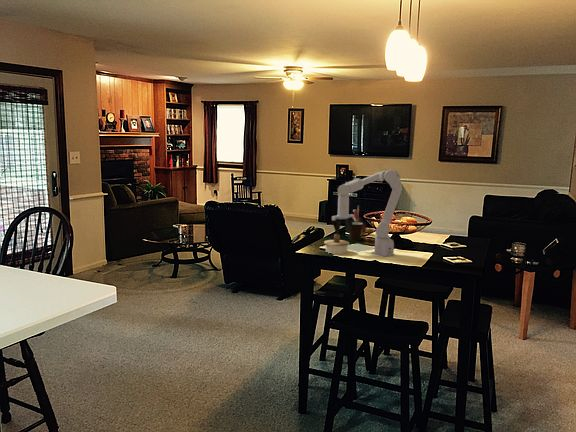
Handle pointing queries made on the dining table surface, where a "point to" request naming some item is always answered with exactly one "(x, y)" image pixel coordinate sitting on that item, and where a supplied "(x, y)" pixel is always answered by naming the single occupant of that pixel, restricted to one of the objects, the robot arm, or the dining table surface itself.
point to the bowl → (336, 249)
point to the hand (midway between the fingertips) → (342, 232)
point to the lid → (336, 241)
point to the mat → (359, 247)
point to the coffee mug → (355, 231)
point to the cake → (358, 219)
